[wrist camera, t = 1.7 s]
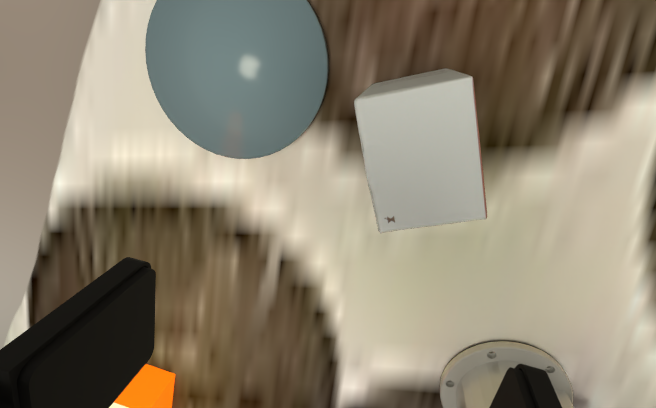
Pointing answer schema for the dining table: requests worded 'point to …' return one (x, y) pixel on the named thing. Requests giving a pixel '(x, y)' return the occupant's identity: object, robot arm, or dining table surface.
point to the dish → (238, 71)
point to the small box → (422, 150)
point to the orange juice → (148, 390)
